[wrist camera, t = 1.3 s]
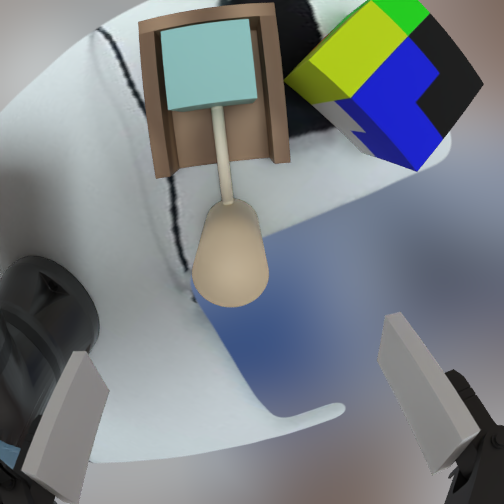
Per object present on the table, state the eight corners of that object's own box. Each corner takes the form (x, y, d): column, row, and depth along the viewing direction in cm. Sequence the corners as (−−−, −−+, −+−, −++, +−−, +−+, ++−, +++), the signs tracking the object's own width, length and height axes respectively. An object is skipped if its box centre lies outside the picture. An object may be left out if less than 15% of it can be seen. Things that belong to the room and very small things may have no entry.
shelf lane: (168, 169, 26) (155, 178, 22) (152, 35, 21) (138, 21, 17) (281, 155, 27) (290, 162, 22) (268, 19, 21) (273, 2, 17)
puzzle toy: (361, 152, 27) (416, 171, 18) (283, 80, 24) (308, 60, 15) (418, 86, 24) (483, 84, 15) (348, 15, 21) (395, -21, 12)
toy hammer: (204, 251, 30) (192, 310, 21) (177, 50, 22) (147, 17, 13) (265, 245, 30) (278, 302, 21) (245, 41, 22) (251, 1, 13)
